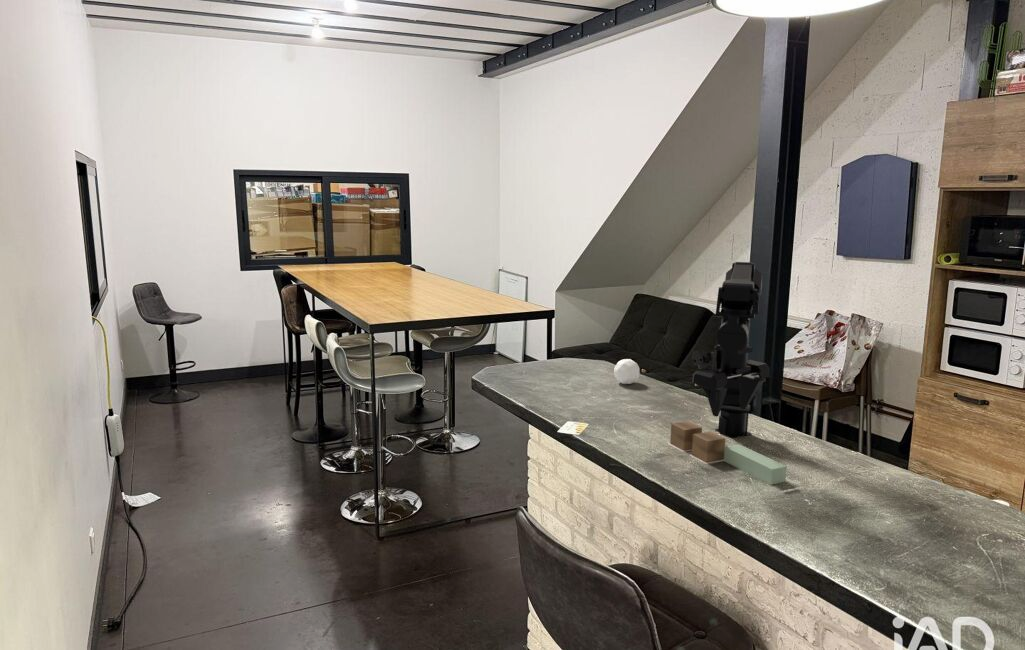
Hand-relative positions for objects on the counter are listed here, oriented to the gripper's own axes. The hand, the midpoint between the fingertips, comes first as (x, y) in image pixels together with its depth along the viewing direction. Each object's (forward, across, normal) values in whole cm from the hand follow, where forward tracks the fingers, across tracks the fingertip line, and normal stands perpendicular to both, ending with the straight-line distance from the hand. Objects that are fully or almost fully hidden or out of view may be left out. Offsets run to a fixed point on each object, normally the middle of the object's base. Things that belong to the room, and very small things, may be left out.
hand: (729, 412), depth 149 cm
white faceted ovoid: (+13, -31, -64) cm, 72 cm away
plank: (+13, -3, +5) cm, 14 cm away
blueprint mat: (+13, -1, -9) cm, 16 cm away
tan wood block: (+12, 0, -5) cm, 13 cm away
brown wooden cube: (+12, -2, -13) cm, 18 cm away
